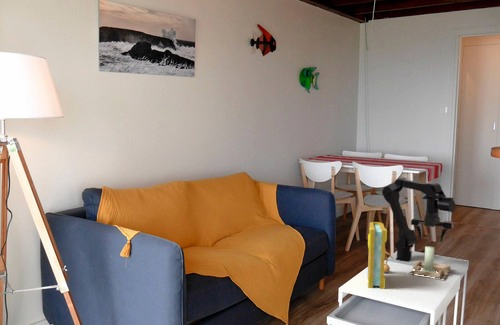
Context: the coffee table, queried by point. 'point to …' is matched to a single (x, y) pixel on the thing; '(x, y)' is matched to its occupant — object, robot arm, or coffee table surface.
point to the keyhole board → (440, 268)
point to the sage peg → (429, 259)
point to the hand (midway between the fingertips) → (431, 240)
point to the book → (376, 254)
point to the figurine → (386, 267)
